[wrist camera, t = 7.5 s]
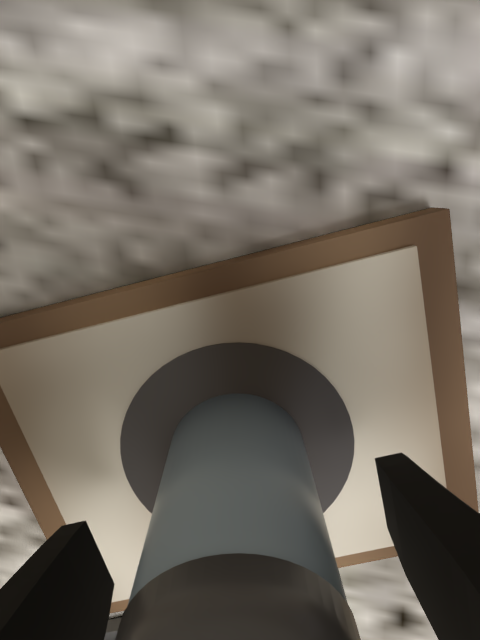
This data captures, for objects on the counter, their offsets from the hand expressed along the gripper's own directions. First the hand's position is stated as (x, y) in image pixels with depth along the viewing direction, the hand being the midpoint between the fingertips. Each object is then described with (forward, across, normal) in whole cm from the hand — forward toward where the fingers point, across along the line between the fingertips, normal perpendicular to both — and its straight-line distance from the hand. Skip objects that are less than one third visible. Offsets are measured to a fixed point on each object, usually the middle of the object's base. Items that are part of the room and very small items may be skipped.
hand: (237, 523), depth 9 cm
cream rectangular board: (+4, 0, 0) cm, 4 cm away
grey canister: (+3, 0, 0) cm, 3 cm away
